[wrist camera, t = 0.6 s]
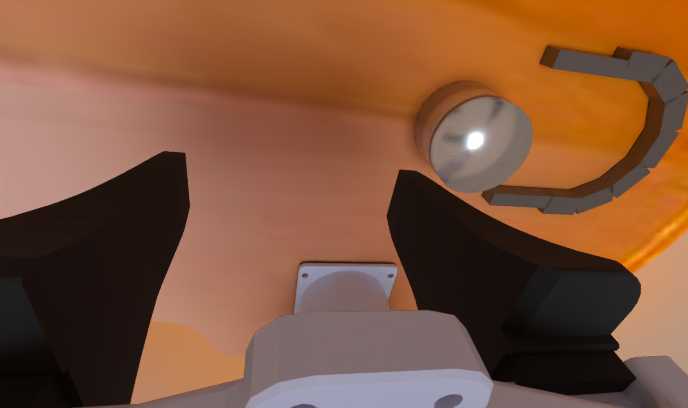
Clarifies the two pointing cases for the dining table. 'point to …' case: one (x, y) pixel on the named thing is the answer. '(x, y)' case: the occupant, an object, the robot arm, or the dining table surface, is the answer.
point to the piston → (472, 136)
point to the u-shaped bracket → (650, 147)
